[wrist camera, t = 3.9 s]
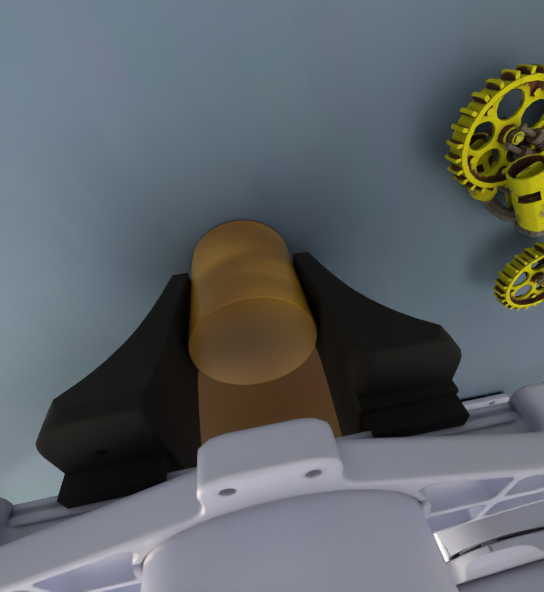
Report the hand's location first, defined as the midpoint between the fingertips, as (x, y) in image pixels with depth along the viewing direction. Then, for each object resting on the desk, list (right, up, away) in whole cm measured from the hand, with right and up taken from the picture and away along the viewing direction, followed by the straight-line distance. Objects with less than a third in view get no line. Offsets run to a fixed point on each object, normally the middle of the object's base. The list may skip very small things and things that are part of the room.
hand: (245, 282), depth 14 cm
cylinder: (0, +1, +1) cm, 1 cm away
